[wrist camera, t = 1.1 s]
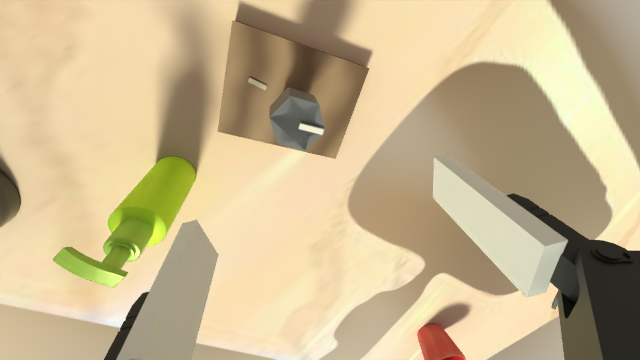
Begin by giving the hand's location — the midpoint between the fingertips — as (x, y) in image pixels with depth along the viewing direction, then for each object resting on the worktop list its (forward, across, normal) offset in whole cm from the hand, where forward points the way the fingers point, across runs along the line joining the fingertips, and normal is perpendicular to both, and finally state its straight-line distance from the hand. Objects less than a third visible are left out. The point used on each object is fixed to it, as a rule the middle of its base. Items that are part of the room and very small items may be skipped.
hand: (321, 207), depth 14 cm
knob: (+19, 0, 0) cm, 19 cm away
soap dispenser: (+27, -21, -6) cm, 35 cm away
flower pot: (+28, +22, -77) cm, 85 cm away
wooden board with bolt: (+27, 0, 0) cm, 27 cm away
